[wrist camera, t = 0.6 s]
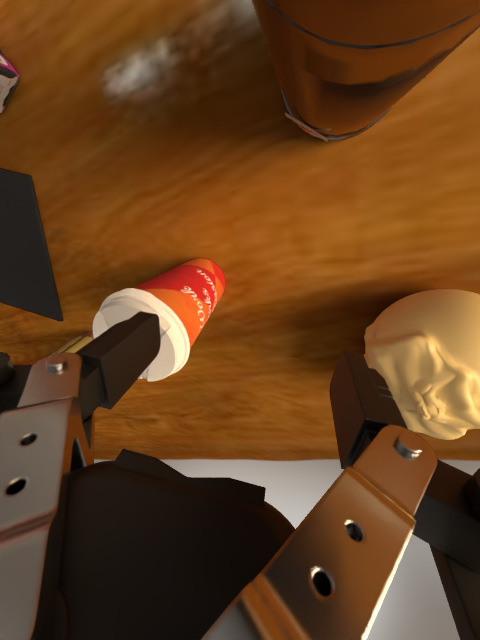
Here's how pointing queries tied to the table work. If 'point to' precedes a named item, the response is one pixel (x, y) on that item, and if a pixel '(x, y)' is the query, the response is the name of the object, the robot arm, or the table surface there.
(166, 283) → the paper cup
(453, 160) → the table surface
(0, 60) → the candy bar box
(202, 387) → the table surface
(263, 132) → the table surface
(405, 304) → the sculpture
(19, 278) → the placemat
